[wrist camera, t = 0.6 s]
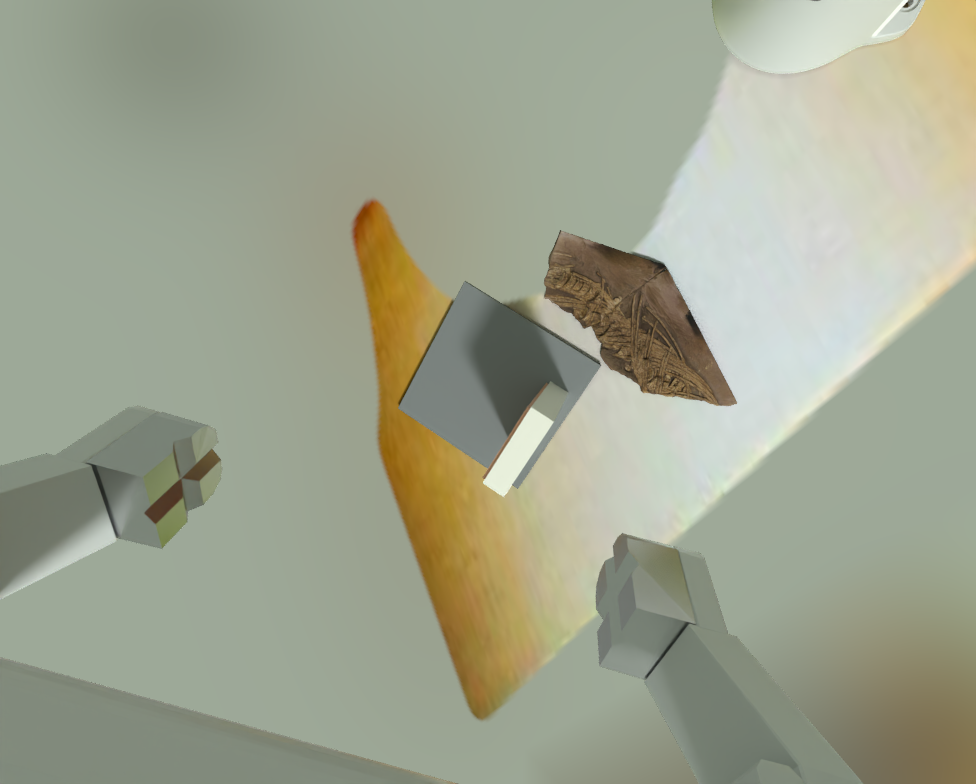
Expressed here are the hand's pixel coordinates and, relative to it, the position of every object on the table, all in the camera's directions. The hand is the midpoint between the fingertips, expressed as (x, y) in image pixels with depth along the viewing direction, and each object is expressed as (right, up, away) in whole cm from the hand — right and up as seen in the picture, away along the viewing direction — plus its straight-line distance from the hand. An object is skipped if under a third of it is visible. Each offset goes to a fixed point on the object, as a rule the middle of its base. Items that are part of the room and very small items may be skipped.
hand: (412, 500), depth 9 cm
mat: (+2, +3, +46) cm, 46 cm away
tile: (+7, -1, +45) cm, 45 cm away
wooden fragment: (+18, +10, +41) cm, 45 cm away
